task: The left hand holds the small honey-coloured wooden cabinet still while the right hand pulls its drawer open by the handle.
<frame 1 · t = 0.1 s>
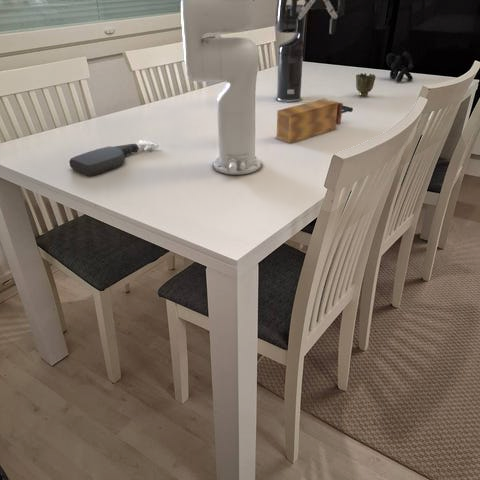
left hand: (232, 18, 141), 31 cm above the table, tool pointing down, fingers open, 9 cm apart
right hand: (315, 34, 123), 29 cm above the table, tool pointing down, fingers open, 8 cm apart
drawer: (322, 116, 142), point 4 cm above the table, slide at 1.9 cm
cup: (363, 96, 178), on the table
squiggle: (399, 80, 200), on the table
cabinet: (306, 133, 141), on the table
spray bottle: (117, 159, 125), on the table
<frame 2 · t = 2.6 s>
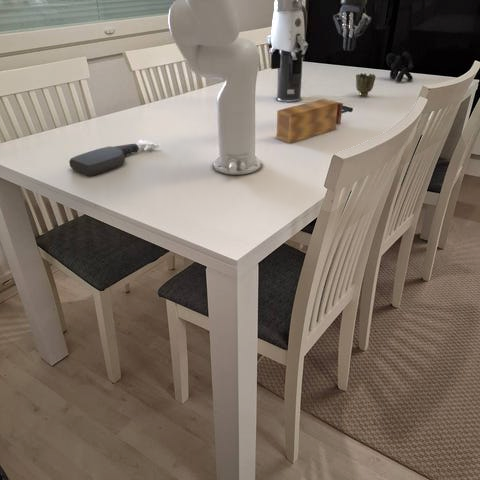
left hand: (285, 71, 130), 19 cm above the table, tool pointing down, fingers open, 9 cm apart
right hand: (348, 50, 137), 23 cm above the table, tool pointing down, fingers closed
nothing on the table moved.
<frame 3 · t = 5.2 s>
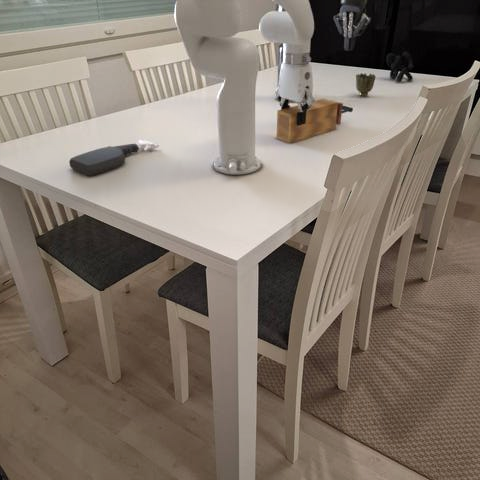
left hand: (293, 121, 135), 5 cm above the table, tool pointing down, fingers closed on cabinet, 6 cm apart
right hand: (348, 50, 137), 23 cm above the table, tool pointing down, fingers closed
cabinet: (306, 133, 141), on the table, touching left hand
everything else where it was.
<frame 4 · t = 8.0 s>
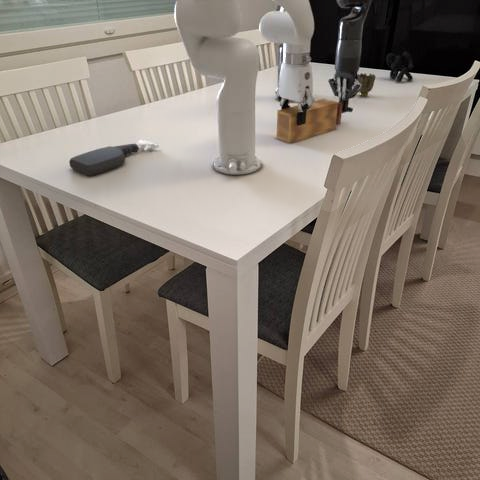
left hand: (293, 121, 135), 5 cm above the table, tool pointing down, fingers closed on cabinet, 6 cm apart
right hand: (342, 110, 147), 4 cm above the table, tool pointing down, fingers closed
drawer: (322, 116, 142), point 4 cm above the table, slide at 1.9 cm, touching right hand
cabinet: (306, 133, 141), on the table, touching left hand
everything else where it was.
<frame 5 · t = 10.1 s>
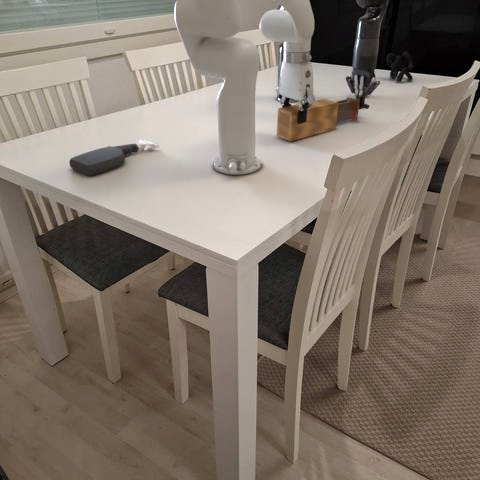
left hand: (294, 119, 135), 6 cm above the table, tool pointing down, fingers closed on cabinet, 6 cm apart
right hand: (359, 107, 152), 4 cm above the table, tool pointing down, fingers closed
drawer: (340, 111, 147), point 4 cm above the table, slide at 10.2 cm
cabinet: (306, 132, 141), on the table, touching left hand
everything else where it was.
when the left hand's fingers open (5 cm above the table, at t = 11.5 s): cabinet stays where it is, on the table.
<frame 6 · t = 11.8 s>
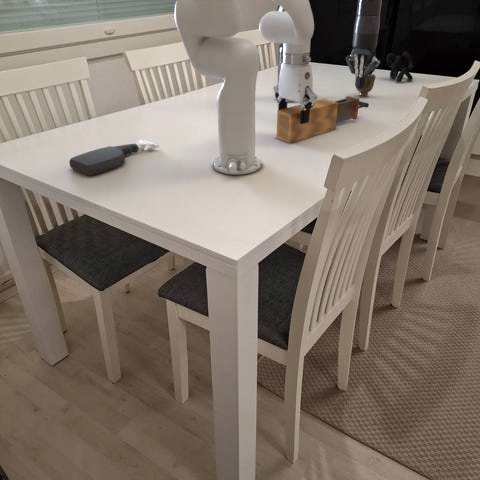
left hand: (293, 119, 135), 6 cm above the table, tool pointing down, fingers open, 9 cm apart
right hand: (359, 88, 148), 10 cm above the table, tool pointing down, fingers closed
cabinet: (306, 133, 141), on the table
everything else where it was.
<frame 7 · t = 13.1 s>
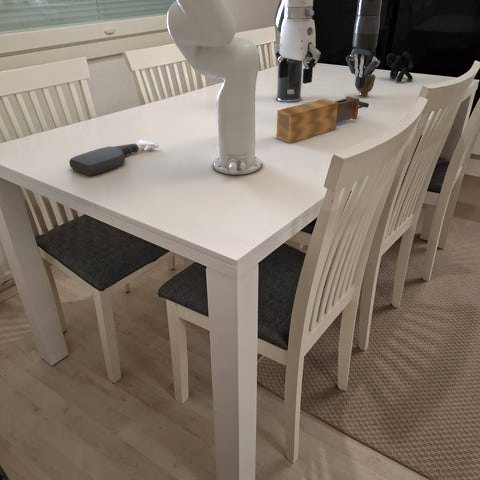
left hand: (295, 80, 129), 17 cm above the table, tool pointing down, fingers open, 9 cm apart
right hand: (359, 88, 148), 10 cm above the table, tool pointing down, fingers closed
nothing on the table moved.
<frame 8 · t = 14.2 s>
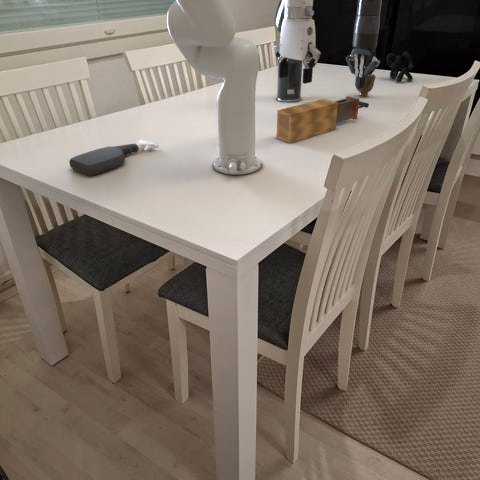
left hand: (295, 79, 129), 17 cm above the table, tool pointing down, fingers open, 9 cm apart
right hand: (359, 88, 148), 10 cm above the table, tool pointing down, fingers closed
nothing on the table moved.
at the end: drawer slide at 10.1 cm; cabinet tilted 0°; cabinet never tilted more than 3° during the clip; cabinet moved 0.0 cm from its start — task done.
